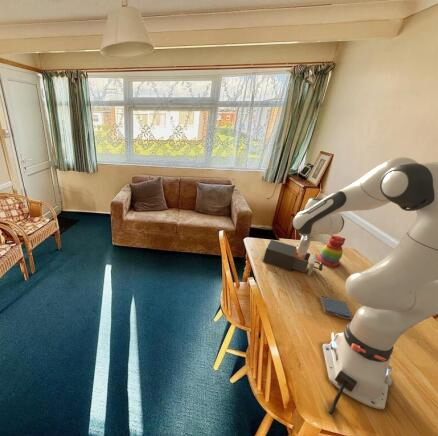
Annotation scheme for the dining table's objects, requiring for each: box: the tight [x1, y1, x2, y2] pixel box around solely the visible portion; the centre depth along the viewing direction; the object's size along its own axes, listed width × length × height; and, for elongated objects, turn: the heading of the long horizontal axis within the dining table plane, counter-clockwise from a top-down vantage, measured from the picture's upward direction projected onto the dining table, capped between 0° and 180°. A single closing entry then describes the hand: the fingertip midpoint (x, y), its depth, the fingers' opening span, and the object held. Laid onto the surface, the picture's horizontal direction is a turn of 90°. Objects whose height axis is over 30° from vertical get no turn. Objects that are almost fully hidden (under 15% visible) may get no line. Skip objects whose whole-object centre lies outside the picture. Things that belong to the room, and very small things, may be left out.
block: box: [294, 244, 306, 260], centre depth 115 cm, size 4×4×4 cm
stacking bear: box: [316, 235, 346, 268], centre depth 133 cm, size 11×10×18 cm
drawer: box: [291, 252, 324, 276], centre depth 130 cm, size 18×11×8 cm, turn 52°
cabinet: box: [262, 239, 297, 272], centre depth 136 cm, size 15×13×10 cm
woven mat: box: [319, 295, 353, 321], centre depth 105 cm, size 10×11×2 cm
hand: (300, 253), depth 115 cm, fingers closed on block, 4 cm apart
